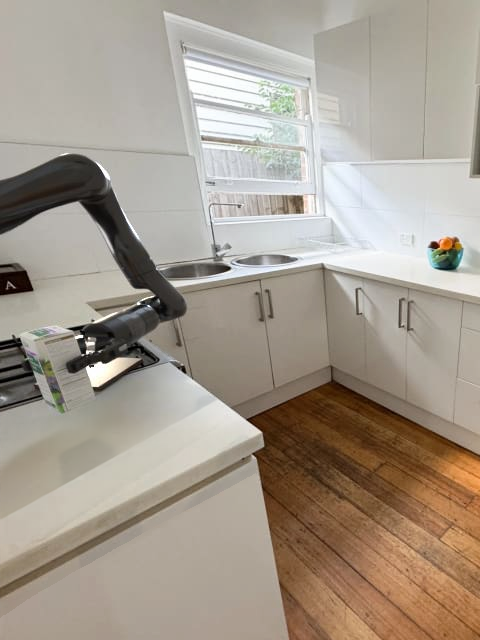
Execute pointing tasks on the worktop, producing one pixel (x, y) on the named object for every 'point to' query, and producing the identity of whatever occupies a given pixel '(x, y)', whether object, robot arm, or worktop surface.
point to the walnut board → (108, 372)
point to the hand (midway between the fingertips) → (47, 367)
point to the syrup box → (57, 367)
